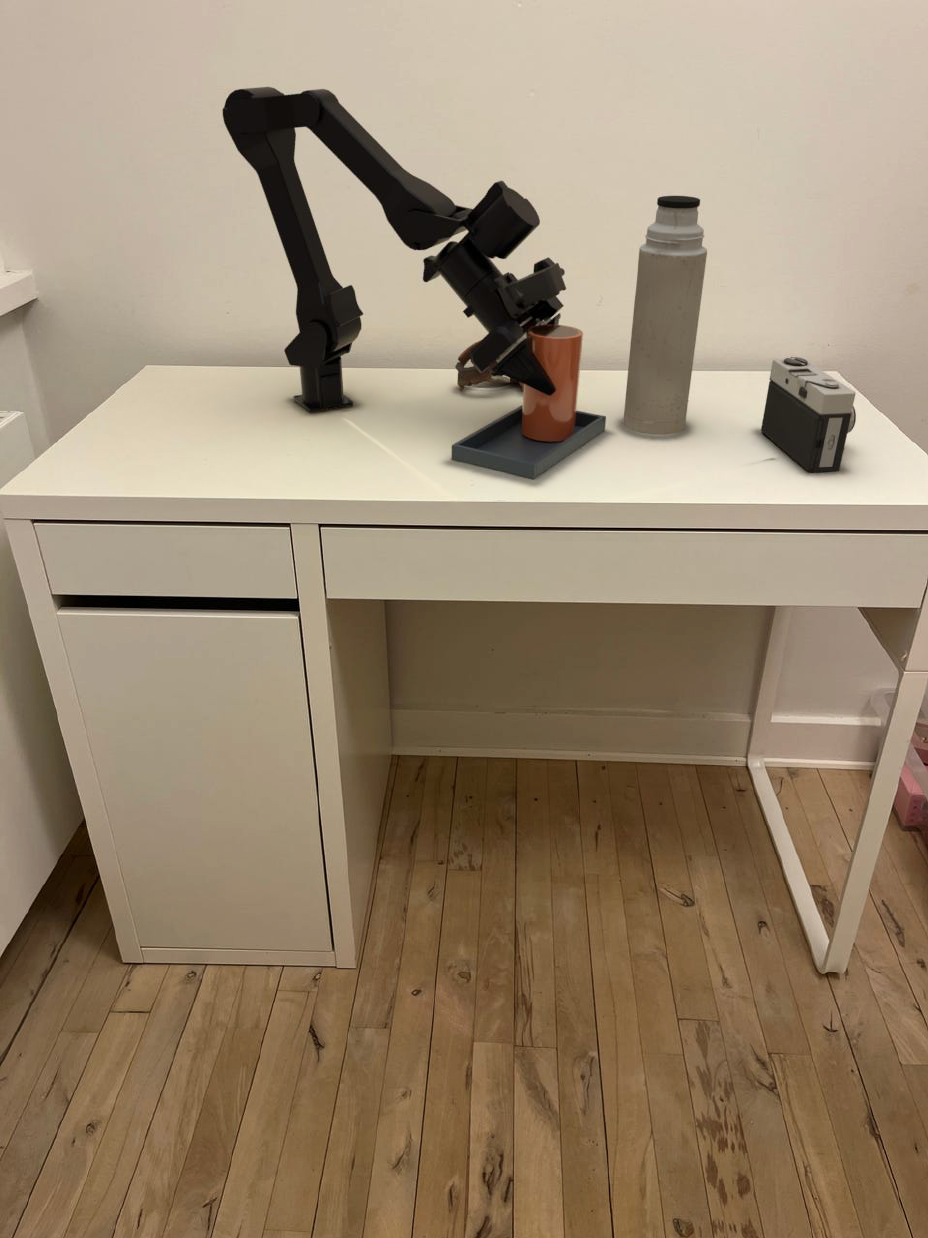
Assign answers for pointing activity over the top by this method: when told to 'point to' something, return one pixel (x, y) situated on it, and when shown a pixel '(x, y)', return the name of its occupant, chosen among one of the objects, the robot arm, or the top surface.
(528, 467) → the tray
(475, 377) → the brown curved loop
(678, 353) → the thermos bottle
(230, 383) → the top surface
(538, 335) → the tumbler
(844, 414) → the camera
